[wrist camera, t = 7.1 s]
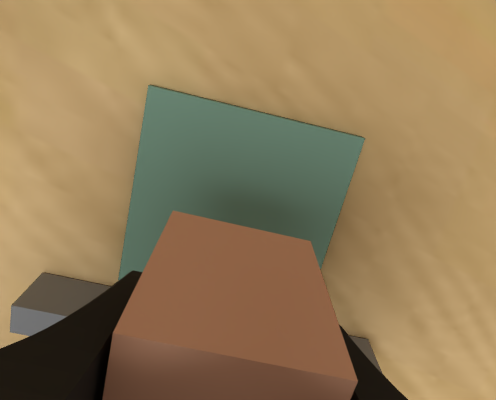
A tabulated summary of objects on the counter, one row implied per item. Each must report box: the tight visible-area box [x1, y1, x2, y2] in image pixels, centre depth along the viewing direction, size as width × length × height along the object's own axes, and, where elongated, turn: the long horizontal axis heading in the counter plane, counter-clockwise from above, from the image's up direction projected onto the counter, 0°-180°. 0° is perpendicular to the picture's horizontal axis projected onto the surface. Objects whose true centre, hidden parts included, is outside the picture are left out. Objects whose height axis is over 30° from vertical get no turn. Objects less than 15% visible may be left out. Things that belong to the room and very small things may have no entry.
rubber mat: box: [118, 85, 365, 280], centre depth 20 cm, size 10×10×1 cm
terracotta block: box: [102, 211, 358, 400], centre depth 11 cm, size 4×4×6 cm
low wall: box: [10, 273, 382, 373], centre depth 21 cm, size 2×18×3 cm, turn 76°
